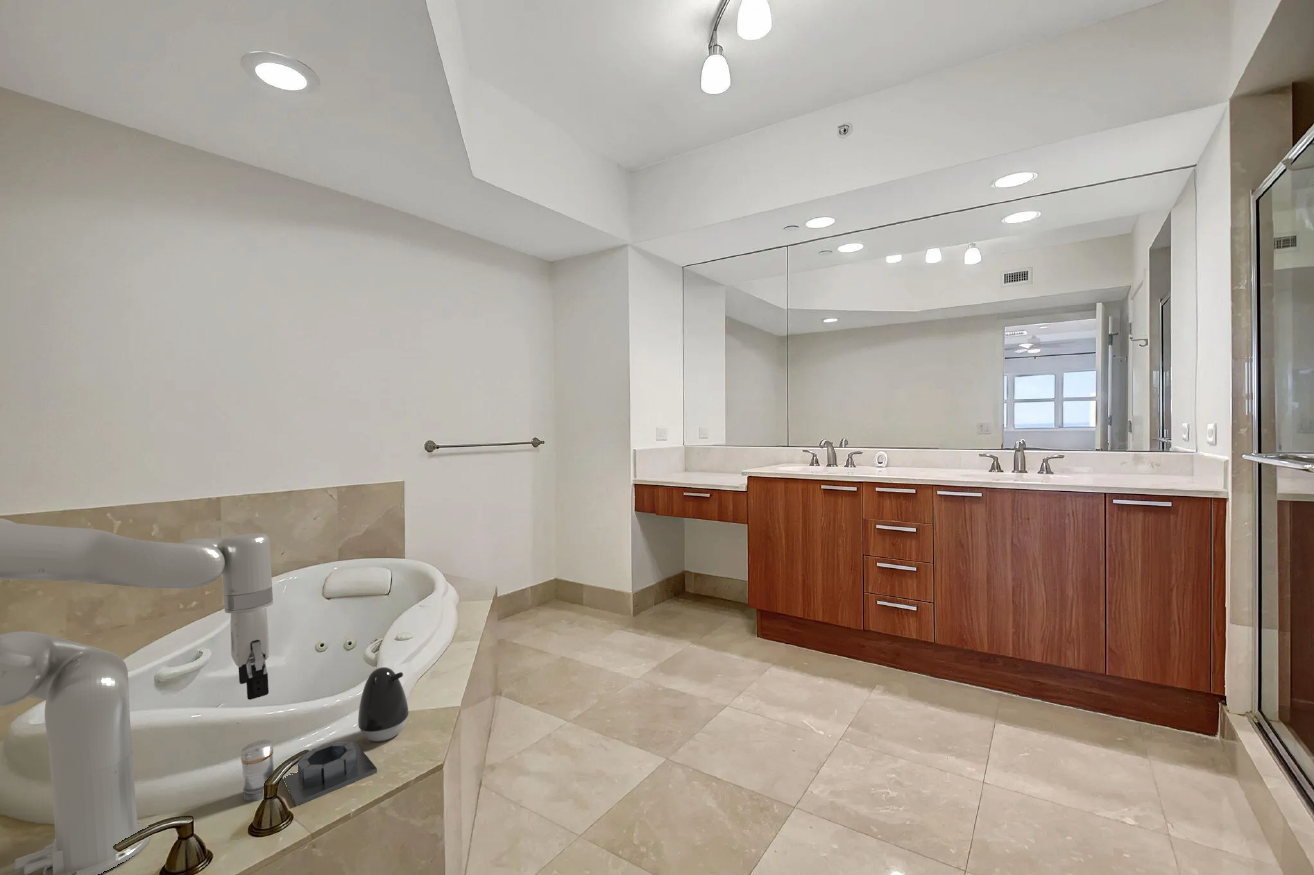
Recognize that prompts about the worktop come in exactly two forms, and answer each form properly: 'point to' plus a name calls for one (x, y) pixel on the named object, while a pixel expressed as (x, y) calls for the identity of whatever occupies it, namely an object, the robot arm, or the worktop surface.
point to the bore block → (328, 770)
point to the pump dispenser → (382, 705)
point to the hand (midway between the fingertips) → (253, 688)
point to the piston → (256, 768)
